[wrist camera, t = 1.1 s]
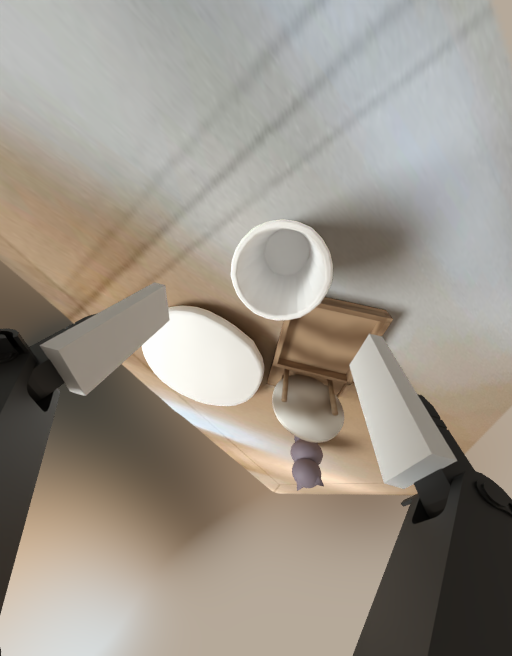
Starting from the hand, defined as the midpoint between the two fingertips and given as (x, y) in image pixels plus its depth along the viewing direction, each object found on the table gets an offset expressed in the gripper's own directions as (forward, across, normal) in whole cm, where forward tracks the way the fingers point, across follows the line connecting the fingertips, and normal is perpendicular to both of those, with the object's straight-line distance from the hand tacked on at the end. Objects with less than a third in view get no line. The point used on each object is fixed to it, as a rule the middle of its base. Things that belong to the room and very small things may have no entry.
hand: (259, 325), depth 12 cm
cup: (+21, 0, +1) cm, 21 cm away
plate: (+21, -12, -25) cm, 35 cm away
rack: (+20, +11, -17) cm, 28 cm away
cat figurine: (+20, +18, -47) cm, 54 cm away
